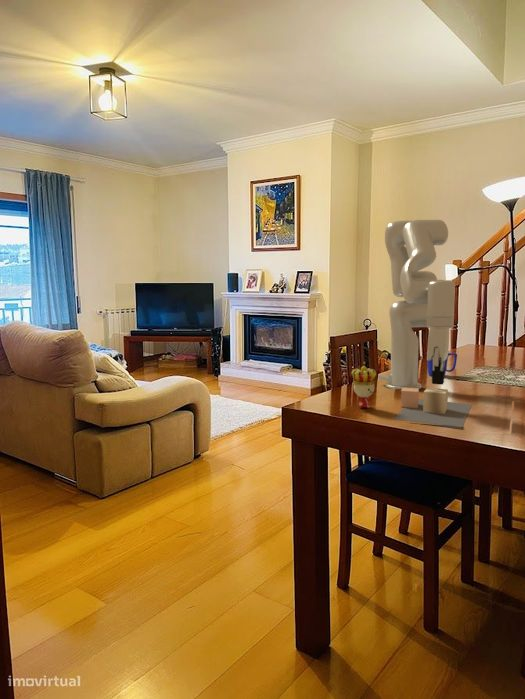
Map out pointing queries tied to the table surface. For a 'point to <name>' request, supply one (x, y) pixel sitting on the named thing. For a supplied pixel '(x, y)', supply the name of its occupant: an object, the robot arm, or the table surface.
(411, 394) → the terracotta block
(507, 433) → the table surface
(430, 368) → the mug
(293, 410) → the table surface
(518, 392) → the table surface
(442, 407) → the maple block
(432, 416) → the mat
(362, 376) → the toy
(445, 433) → the table surface
